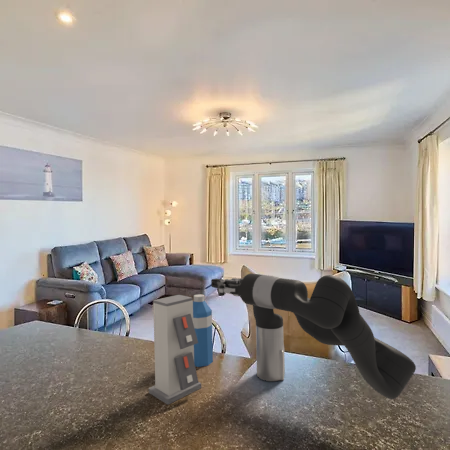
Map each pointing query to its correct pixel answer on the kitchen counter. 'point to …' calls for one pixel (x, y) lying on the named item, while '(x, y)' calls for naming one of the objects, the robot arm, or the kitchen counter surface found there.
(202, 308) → the water bottle
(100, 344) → the kitchen counter surface
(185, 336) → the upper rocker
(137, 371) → the kitchen counter surface
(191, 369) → the lower rocker
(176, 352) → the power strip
